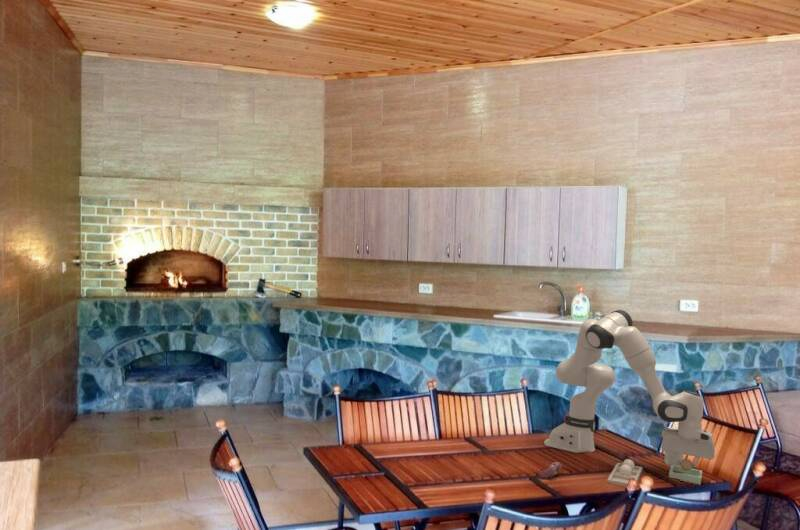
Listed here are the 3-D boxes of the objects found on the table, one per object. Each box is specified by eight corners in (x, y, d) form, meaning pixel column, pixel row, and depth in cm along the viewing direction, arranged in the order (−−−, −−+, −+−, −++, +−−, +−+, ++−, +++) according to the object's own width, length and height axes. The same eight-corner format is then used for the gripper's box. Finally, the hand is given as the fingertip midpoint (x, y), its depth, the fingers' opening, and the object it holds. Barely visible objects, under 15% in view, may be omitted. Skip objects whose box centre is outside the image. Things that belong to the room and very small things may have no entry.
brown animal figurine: (548, 483, 288) (557, 469, 286) (538, 476, 290) (547, 461, 288) (556, 478, 296) (565, 464, 295) (547, 470, 299) (556, 456, 297)
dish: (668, 479, 302) (669, 472, 302) (670, 472, 313) (671, 464, 313) (700, 485, 297) (701, 477, 297) (701, 477, 308) (702, 470, 308)
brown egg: (679, 470, 303) (680, 459, 303) (680, 467, 307) (681, 456, 307) (691, 472, 301) (692, 461, 301) (692, 470, 306) (693, 458, 305)
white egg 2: (618, 476, 297) (619, 464, 296) (620, 473, 301) (621, 462, 301) (630, 478, 295) (631, 467, 295) (632, 475, 299) (633, 464, 299)
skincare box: (682, 469, 319) (685, 432, 319) (665, 467, 320) (669, 430, 320) (679, 463, 327) (682, 428, 327) (663, 461, 328) (666, 426, 328)
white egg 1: (621, 470, 305) (622, 459, 305) (623, 468, 309) (624, 457, 309) (633, 473, 303) (634, 461, 303) (634, 470, 307) (635, 459, 307)
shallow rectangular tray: (606, 485, 287) (607, 479, 287) (616, 467, 313) (617, 462, 313) (634, 490, 283) (634, 484, 283) (642, 472, 309) (642, 467, 309)
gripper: (661, 428, 305) (658, 462, 306) (716, 437, 297) (712, 472, 297) (662, 425, 311) (659, 459, 311) (716, 434, 303) (713, 468, 303)
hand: (686, 465), depth 304 cm, fingers closed on brown egg, 5 cm apart
